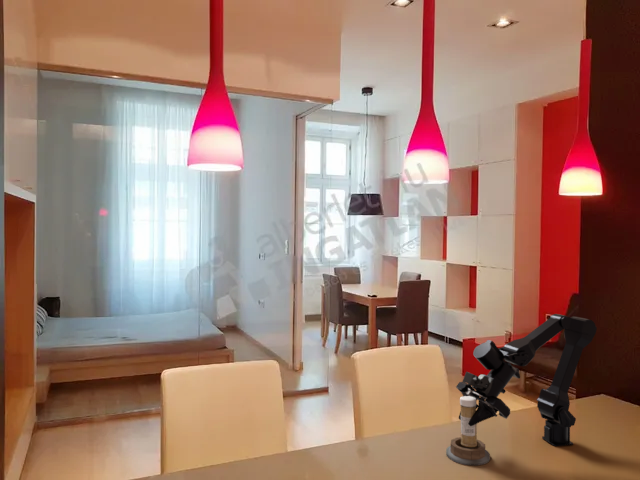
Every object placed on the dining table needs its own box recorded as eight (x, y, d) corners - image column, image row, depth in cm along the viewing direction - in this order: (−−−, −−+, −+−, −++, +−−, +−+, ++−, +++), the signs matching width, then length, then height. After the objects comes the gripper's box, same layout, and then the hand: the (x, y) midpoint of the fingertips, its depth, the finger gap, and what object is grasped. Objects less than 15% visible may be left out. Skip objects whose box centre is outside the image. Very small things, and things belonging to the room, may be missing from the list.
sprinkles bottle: (478, 443, 147) (478, 396, 147) (475, 449, 143) (474, 401, 143) (462, 440, 149) (462, 394, 149) (458, 446, 145) (457, 398, 145)
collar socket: (477, 445, 153) (477, 434, 153) (498, 463, 141) (498, 450, 141) (439, 448, 151) (439, 437, 151) (457, 467, 139) (457, 454, 139)
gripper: (461, 354, 156) (429, 394, 152) (501, 370, 138) (466, 415, 135) (483, 377, 158) (452, 417, 155) (525, 396, 141) (491, 441, 137)
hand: (464, 422), depth 146 cm, fingers closed on sprinkles bottle, 4 cm apart
